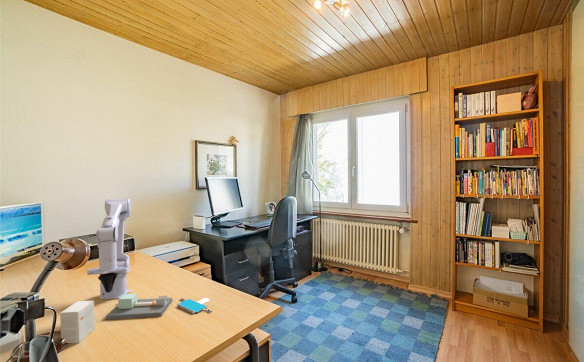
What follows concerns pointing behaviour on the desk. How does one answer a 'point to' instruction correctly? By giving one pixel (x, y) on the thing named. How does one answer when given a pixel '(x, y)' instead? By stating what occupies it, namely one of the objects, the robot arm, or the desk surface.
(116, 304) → the wooden dowel
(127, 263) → the robot arm
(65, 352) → the desk surface
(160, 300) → the block
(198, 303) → the blue flat gadget
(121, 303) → the sleeve
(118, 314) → the board
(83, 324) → the small box
